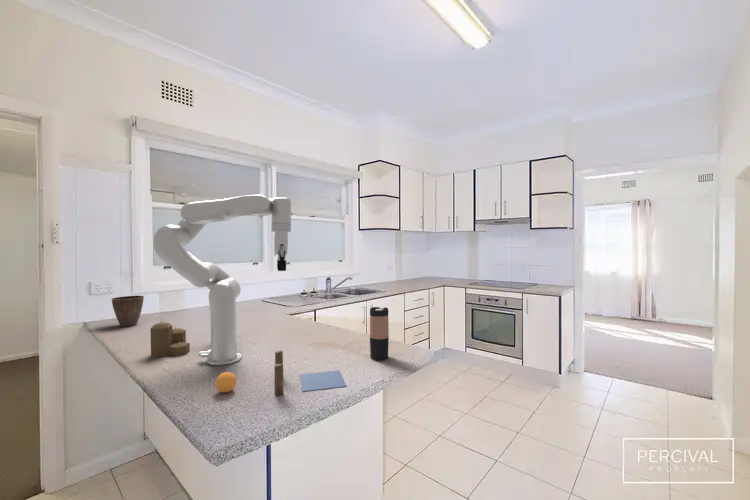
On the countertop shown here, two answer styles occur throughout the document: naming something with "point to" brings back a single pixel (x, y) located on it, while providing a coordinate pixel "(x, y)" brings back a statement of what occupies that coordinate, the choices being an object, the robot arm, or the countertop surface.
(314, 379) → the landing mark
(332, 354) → the countertop surface
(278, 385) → the post
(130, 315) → the plant pot
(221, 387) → the ball
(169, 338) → the candle
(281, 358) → the post
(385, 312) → the travel mug
